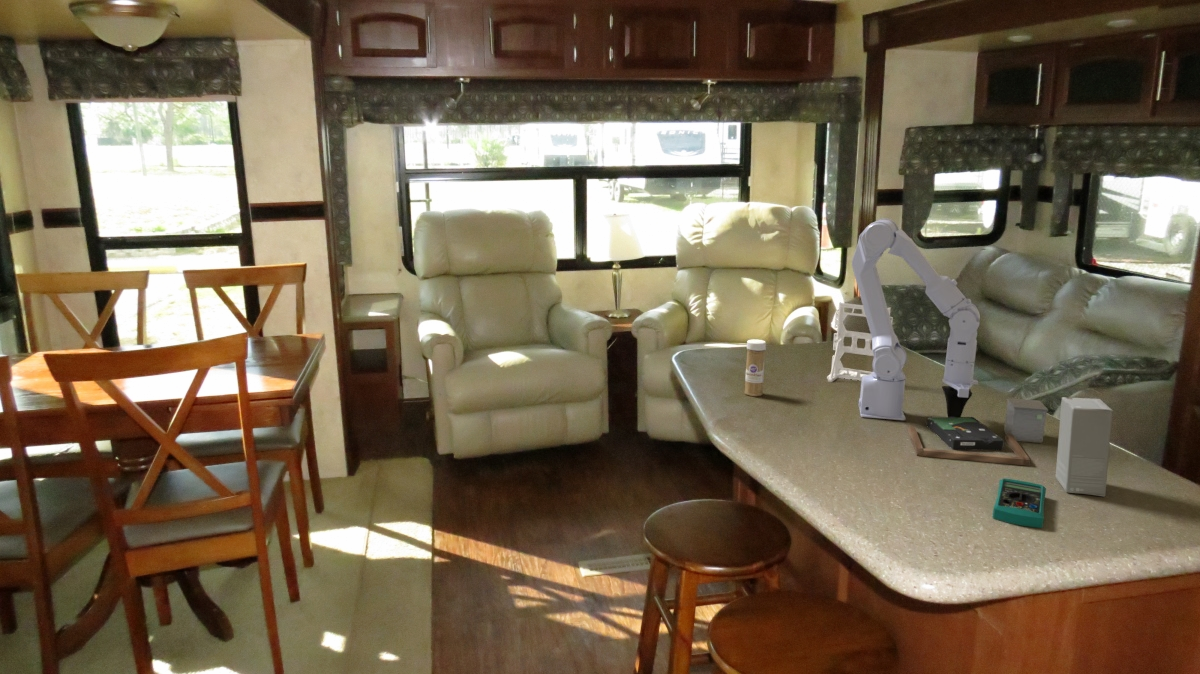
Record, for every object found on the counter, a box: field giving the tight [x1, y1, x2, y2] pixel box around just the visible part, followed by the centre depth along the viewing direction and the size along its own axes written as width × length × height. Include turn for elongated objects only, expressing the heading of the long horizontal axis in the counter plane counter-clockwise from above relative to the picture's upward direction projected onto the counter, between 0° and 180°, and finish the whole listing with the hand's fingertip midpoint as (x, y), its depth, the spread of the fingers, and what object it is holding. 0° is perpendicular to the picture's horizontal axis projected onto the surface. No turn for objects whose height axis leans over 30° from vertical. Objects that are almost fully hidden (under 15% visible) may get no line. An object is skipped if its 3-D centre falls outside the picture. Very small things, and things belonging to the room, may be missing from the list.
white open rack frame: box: [826, 302, 894, 383], centre depth 213 cm, size 14×14×20 cm
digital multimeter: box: [992, 478, 1047, 529], centre depth 138 cm, size 7×15×3 cm, turn 151°
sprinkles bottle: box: [743, 338, 767, 397], centre depth 200 cm, size 5×5×14 cm
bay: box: [907, 425, 1031, 467], centre depth 166 cm, size 20×15×1 cm
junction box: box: [1004, 397, 1049, 444], centre depth 172 cm, size 6×6×7 cm
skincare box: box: [1054, 396, 1114, 497], centre depth 146 cm, size 8×7×16 cm
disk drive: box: [926, 416, 1005, 451], centre depth 172 cm, size 10×3×15 cm
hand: (953, 419), depth 181 cm, fingers closed
